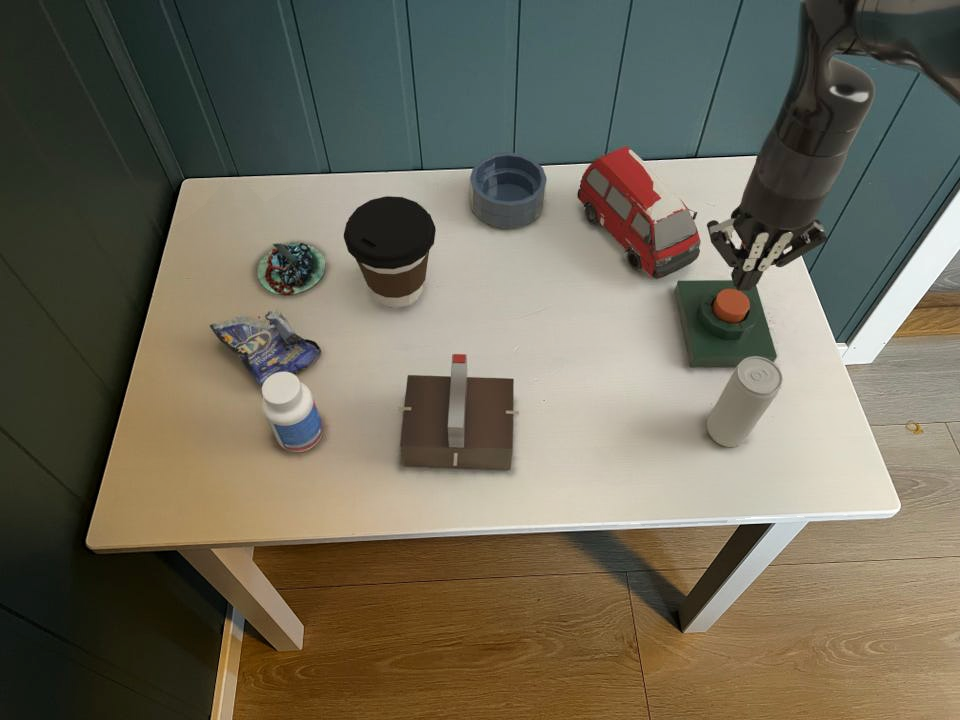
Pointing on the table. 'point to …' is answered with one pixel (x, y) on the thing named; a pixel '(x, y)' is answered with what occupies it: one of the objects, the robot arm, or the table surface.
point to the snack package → (267, 345)
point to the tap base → (483, 424)
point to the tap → (457, 401)
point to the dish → (291, 268)
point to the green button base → (721, 326)
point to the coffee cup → (391, 247)
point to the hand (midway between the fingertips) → (741, 284)
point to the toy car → (640, 213)
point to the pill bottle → (291, 412)
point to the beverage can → (744, 400)
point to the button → (731, 305)
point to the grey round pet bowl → (507, 189)
